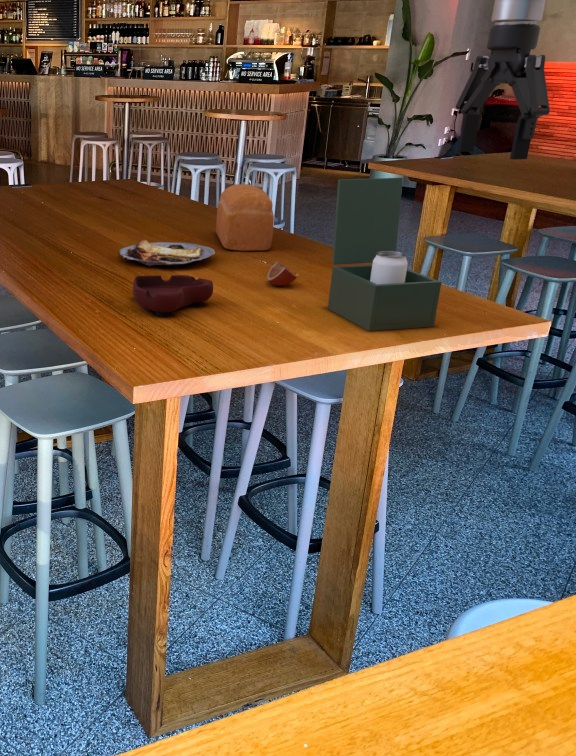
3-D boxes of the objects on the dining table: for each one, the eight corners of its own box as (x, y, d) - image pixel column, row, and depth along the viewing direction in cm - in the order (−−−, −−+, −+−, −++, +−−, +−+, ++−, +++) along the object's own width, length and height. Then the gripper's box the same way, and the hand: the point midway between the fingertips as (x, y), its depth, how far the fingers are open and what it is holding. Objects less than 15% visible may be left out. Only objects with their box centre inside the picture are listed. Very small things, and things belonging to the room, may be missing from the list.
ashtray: (160, 290, 181) (161, 268, 179) (219, 303, 170) (220, 281, 169) (107, 305, 170) (107, 282, 168) (166, 321, 159) (168, 297, 157)
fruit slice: (262, 280, 189) (264, 259, 187) (291, 280, 189) (293, 260, 187) (269, 289, 181) (271, 268, 180) (299, 289, 181) (301, 268, 179)
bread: (222, 251, 219) (226, 193, 213) (214, 232, 243) (217, 180, 238) (273, 252, 218) (278, 193, 212) (259, 233, 242) (264, 180, 236)
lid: (403, 177, 161) (381, 176, 168) (340, 179, 158) (320, 178, 166) (395, 261, 166) (374, 257, 173) (333, 264, 163) (315, 260, 171)
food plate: (103, 263, 206) (103, 249, 205) (140, 246, 225) (141, 234, 224) (194, 274, 195) (195, 260, 194) (225, 256, 214) (226, 243, 212)
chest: (433, 326, 155) (441, 282, 152) (369, 331, 152) (375, 285, 149) (387, 304, 170) (393, 263, 166) (327, 308, 167) (332, 266, 164)
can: (403, 311, 161) (413, 253, 157) (394, 319, 156) (403, 259, 152) (371, 306, 165) (379, 249, 160) (361, 313, 160) (369, 254, 156)
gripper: (594, 20, 122) (563, 162, 130) (484, 27, 145) (463, 148, 153) (552, 20, 121) (523, 163, 129) (448, 27, 143) (428, 149, 151)
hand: (490, 155), depth 141 cm, fingers open, 13 cm apart
